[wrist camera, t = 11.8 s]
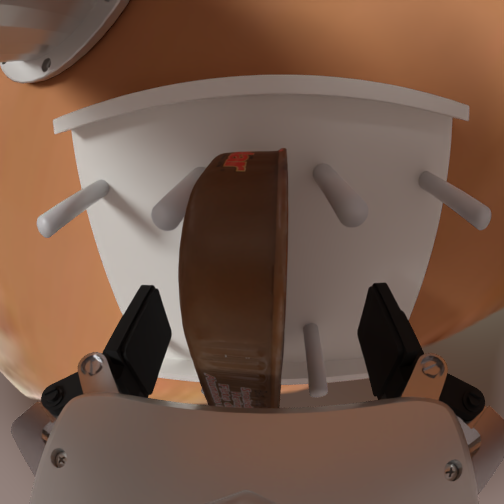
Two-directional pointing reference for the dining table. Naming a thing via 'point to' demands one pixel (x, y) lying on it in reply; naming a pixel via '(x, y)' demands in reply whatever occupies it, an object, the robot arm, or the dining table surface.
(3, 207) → the dining table surface
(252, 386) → the tin
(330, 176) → the dish rack
